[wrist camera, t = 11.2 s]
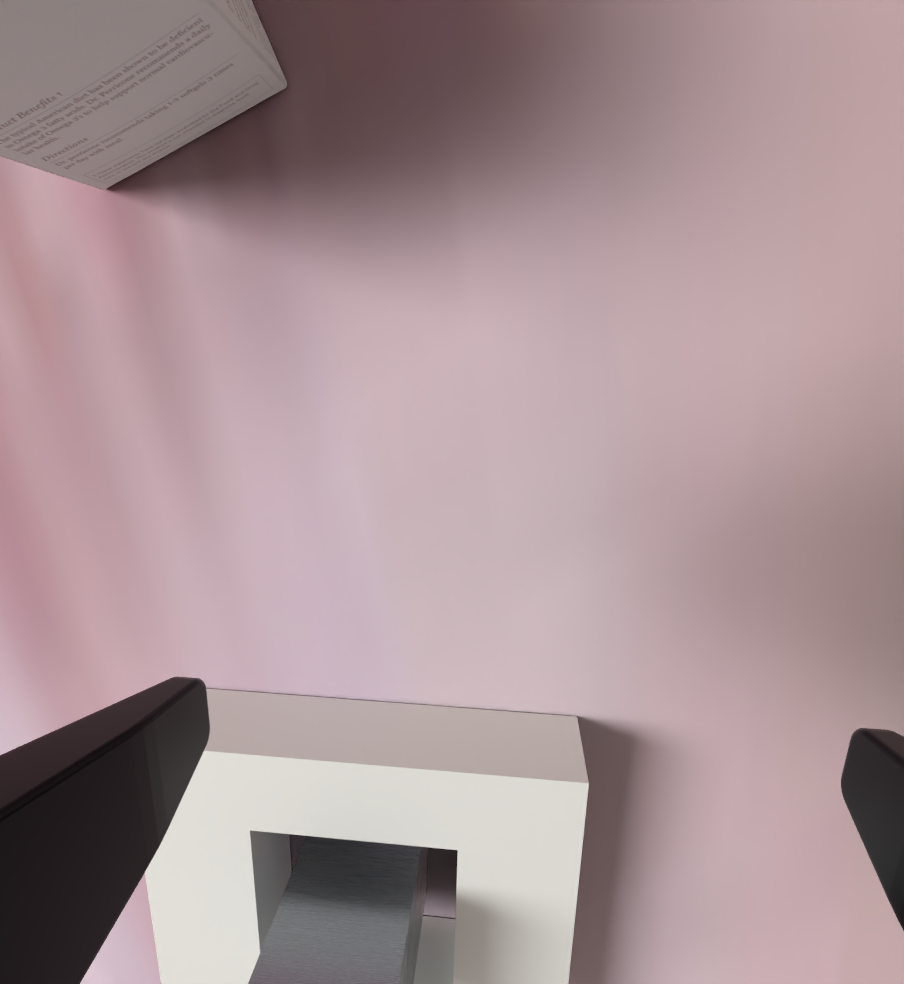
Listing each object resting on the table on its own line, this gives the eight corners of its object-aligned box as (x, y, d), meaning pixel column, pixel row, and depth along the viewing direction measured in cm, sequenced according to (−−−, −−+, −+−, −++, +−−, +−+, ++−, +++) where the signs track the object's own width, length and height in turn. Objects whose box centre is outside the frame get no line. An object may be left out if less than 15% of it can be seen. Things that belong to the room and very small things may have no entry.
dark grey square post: (427, 805, 25) (392, 1019, 17) (426, 889, 26) (392, 1126, 18) (322, 795, 25) (240, 1001, 17) (325, 879, 26) (251, 1106, 19)
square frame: (577, 716, 23) (589, 783, 20) (552, 985, 27) (558, 1079, 23) (179, 686, 24) (126, 744, 21) (208, 946, 28) (167, 1031, 25)
